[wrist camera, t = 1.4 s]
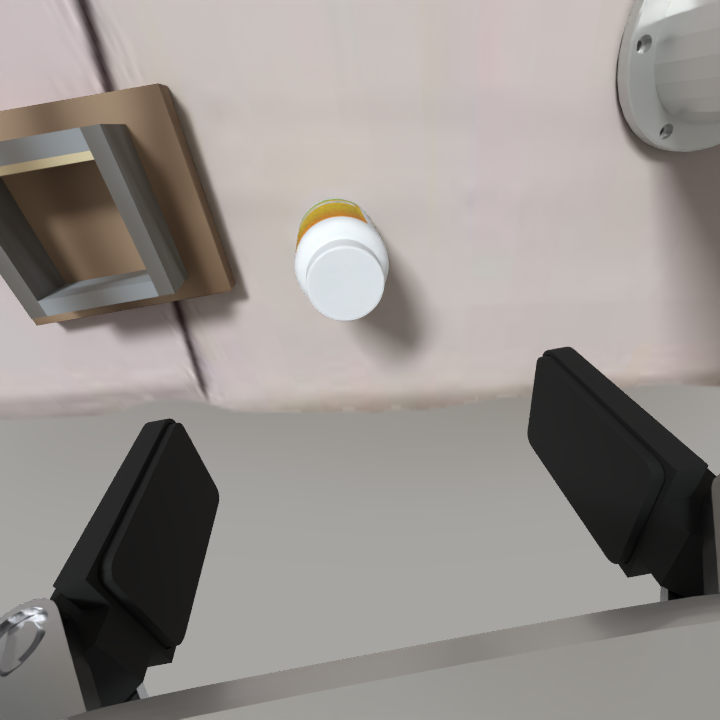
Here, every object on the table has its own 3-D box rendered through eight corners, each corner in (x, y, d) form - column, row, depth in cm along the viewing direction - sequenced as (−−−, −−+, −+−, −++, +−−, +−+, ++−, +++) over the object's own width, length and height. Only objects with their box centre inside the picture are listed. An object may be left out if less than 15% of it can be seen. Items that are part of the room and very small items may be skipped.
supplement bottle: (282, 238, 27) (268, 289, 18) (334, 178, 25) (343, 204, 17) (338, 287, 29) (347, 351, 21) (388, 235, 27) (420, 283, 19)
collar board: (167, 86, 21) (135, 77, 18) (235, 283, 28) (222, 308, 24) (-76, 128, 21) (-160, 129, 18) (49, 316, 28) (7, 346, 24)
